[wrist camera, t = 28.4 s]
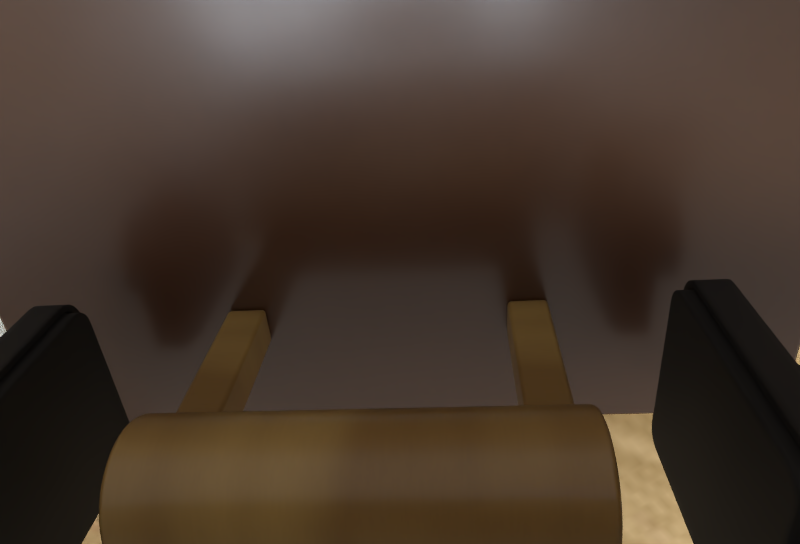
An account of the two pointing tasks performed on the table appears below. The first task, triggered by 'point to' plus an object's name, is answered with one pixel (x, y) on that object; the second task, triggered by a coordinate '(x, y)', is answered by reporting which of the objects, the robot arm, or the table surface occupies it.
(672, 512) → the table surface
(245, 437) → the chest lid
